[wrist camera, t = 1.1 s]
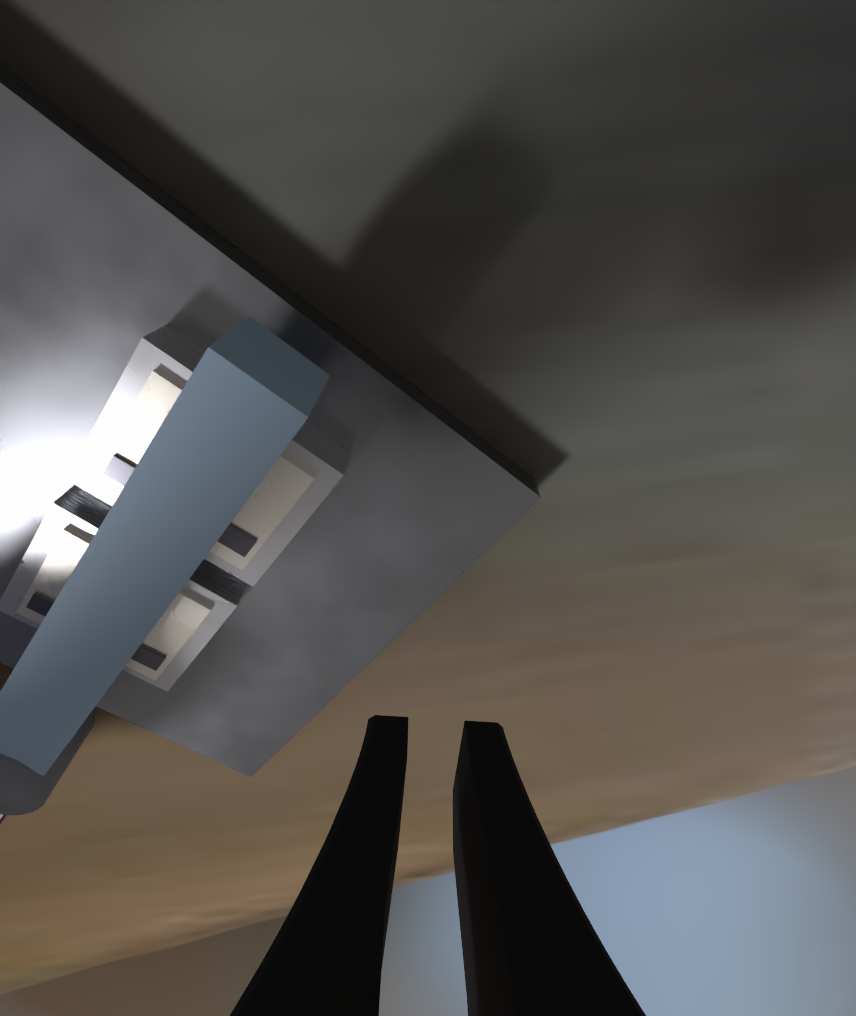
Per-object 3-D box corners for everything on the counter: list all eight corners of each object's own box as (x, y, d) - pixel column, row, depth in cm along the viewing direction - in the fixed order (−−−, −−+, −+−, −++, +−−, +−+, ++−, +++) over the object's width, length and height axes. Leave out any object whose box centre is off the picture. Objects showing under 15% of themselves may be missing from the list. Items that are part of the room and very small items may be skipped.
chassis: (258, 753, 26) (238, 817, 23) (-211, 531, 20) (-308, 583, 17) (534, 479, 19) (551, 527, 16) (-66, 12, 13) (-192, -30, 10)
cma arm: (74, 751, 21) (26, 827, 18) (-16, 713, 20) (-79, 788, 17) (347, 388, 14) (329, 432, 11) (230, 301, 13) (183, 329, 10)
